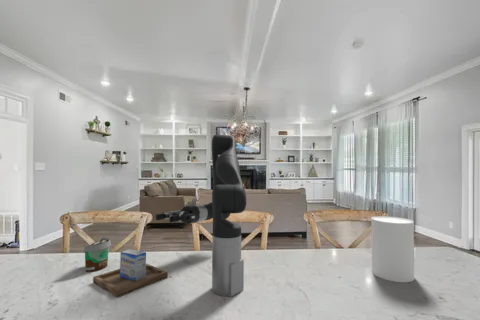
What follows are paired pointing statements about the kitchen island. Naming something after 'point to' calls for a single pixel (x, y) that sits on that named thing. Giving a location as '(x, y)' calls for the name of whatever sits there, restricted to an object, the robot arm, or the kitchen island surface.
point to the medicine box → (132, 265)
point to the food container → (97, 255)
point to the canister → (393, 248)
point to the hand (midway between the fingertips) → (162, 218)
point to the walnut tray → (128, 281)
